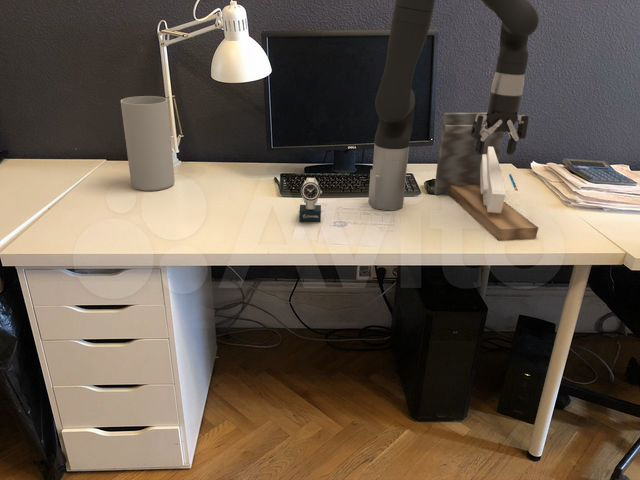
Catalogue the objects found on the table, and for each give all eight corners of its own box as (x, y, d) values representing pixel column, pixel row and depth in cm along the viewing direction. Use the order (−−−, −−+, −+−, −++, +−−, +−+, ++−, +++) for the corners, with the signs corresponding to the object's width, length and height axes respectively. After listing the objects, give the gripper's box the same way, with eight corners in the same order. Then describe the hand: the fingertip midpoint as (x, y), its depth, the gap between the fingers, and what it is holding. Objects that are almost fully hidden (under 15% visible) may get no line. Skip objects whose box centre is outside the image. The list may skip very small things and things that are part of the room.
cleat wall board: (483, 241, 131) (499, 144, 121) (433, 193, 161) (443, 112, 151) (550, 237, 134) (572, 143, 124) (489, 191, 164) (503, 112, 154)
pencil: (515, 191, 166) (515, 189, 165) (508, 174, 181) (508, 172, 181) (517, 191, 166) (518, 189, 165) (510, 174, 181) (511, 172, 181)
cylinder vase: (122, 188, 158) (110, 101, 147) (149, 175, 168) (139, 94, 158) (158, 194, 154) (148, 106, 143) (183, 181, 164) (176, 98, 154)
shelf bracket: (492, 185, 160) (500, 147, 152) (500, 234, 140) (510, 193, 133) (473, 183, 161) (480, 145, 153) (478, 232, 141) (487, 191, 133)
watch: (299, 225, 137) (299, 184, 132) (300, 213, 144) (300, 173, 139) (321, 225, 137) (322, 184, 132) (320, 213, 144) (322, 174, 139)
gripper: (486, 94, 130) (475, 158, 137) (540, 94, 132) (526, 158, 139) (473, 88, 137) (463, 150, 144) (525, 89, 139) (512, 150, 146)
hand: (494, 154), depth 142 cm, fingers open, 8 cm apart
